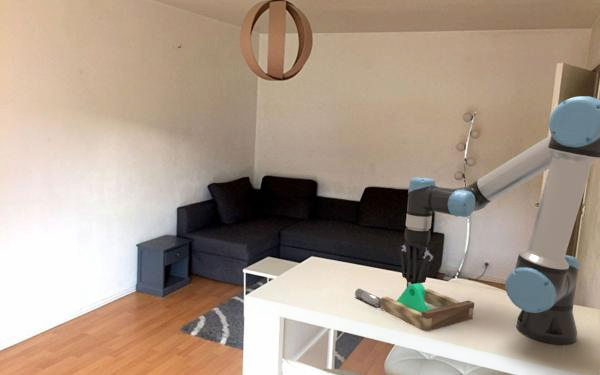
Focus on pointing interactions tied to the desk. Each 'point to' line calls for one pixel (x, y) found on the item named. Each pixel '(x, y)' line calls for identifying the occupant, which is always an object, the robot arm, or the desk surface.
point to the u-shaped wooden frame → (431, 311)
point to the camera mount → (414, 297)
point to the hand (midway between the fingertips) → (411, 302)
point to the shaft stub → (368, 298)
